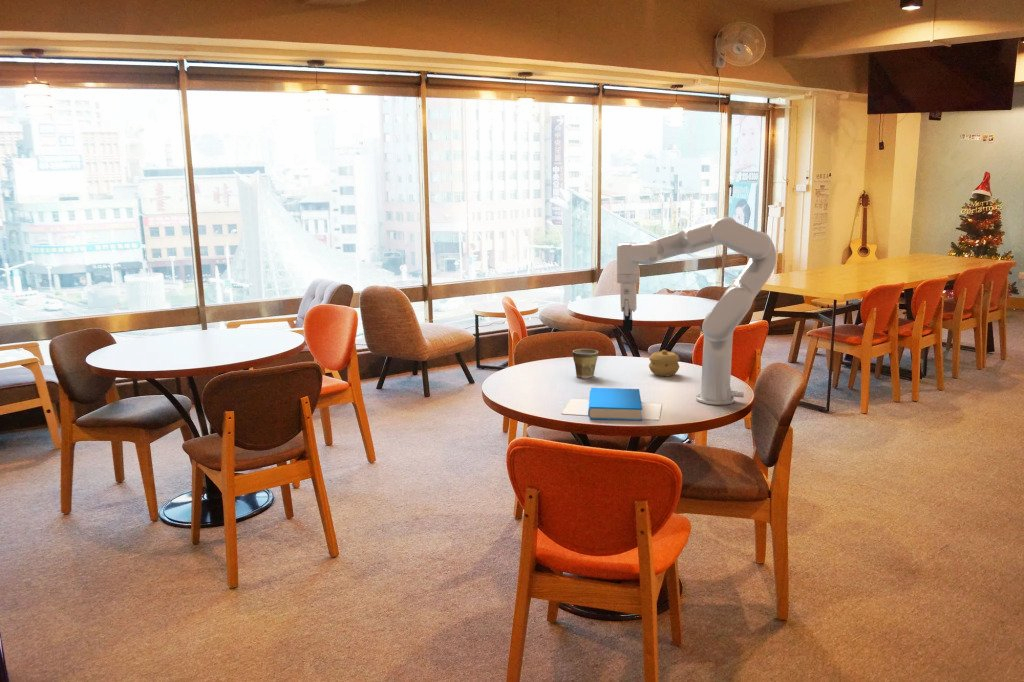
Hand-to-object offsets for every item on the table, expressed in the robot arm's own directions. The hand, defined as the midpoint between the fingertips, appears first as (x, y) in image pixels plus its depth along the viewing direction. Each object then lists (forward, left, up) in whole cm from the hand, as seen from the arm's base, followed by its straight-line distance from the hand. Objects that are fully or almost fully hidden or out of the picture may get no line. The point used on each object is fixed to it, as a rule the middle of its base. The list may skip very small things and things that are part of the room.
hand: (627, 330), depth 279 cm
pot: (-12, -33, -23) cm, 41 cm away
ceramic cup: (+18, -25, -23) cm, 38 cm away
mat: (+2, +21, -23) cm, 31 cm away
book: (+2, +22, -23) cm, 31 cm away
